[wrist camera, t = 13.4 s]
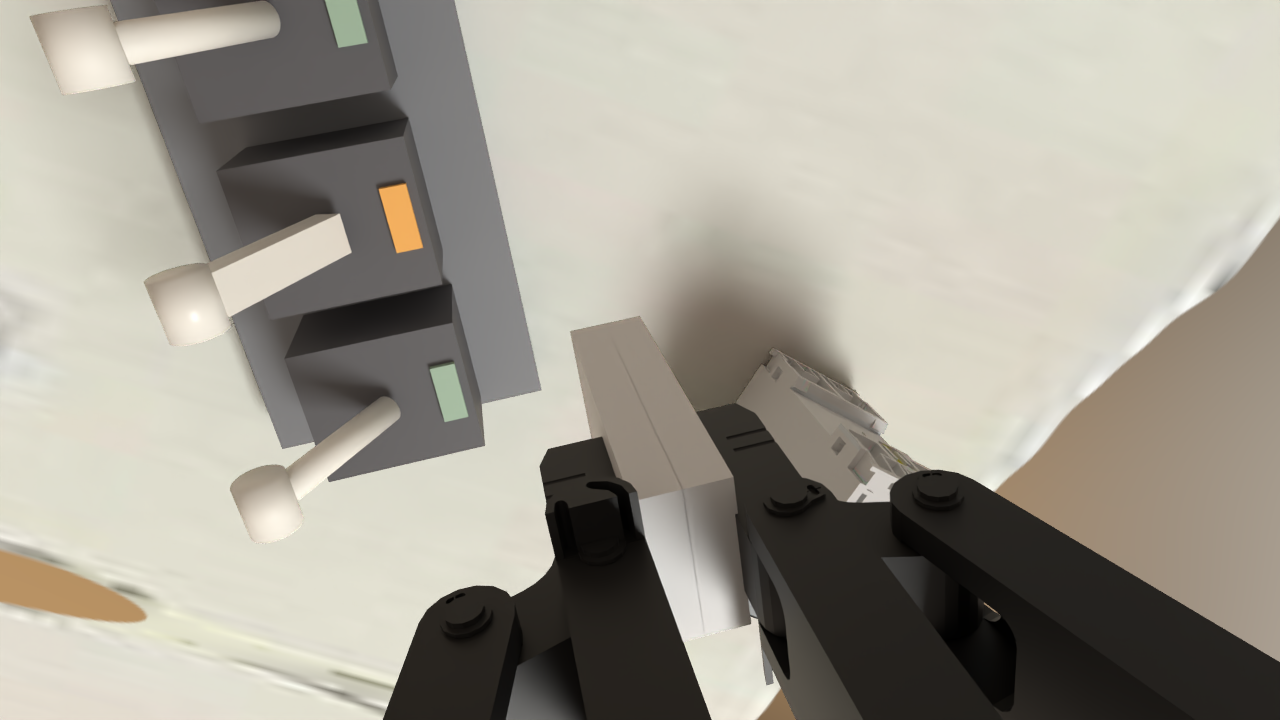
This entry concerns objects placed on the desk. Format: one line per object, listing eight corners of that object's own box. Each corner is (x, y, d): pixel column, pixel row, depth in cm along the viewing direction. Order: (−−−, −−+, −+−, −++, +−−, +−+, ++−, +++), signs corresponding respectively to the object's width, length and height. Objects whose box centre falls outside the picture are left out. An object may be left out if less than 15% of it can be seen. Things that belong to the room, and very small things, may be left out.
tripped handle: (344, 206, 37) (172, 285, 30) (360, 258, 38) (198, 347, 31) (306, 208, 38) (130, 285, 31) (323, 259, 39) (156, 345, 32)
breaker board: (431, -100, 42) (422, -150, 27) (536, 369, 53) (573, 526, 38) (113, -51, 40) (-94, -75, 25) (291, 424, 51) (223, 612, 36)
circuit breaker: (658, 516, 59) (720, 672, 46) (772, 347, 56) (875, 461, 42) (743, 552, 62) (825, 708, 49) (857, 393, 59) (979, 514, 45)
